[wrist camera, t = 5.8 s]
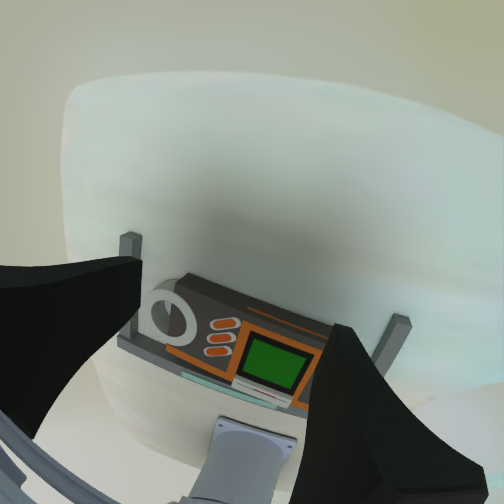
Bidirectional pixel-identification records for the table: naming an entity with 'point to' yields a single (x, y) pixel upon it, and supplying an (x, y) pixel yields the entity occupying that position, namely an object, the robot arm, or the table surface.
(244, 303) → the electronic device
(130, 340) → the dock
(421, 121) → the table surface
